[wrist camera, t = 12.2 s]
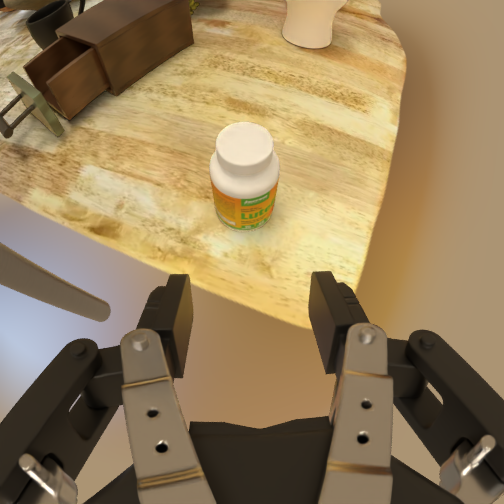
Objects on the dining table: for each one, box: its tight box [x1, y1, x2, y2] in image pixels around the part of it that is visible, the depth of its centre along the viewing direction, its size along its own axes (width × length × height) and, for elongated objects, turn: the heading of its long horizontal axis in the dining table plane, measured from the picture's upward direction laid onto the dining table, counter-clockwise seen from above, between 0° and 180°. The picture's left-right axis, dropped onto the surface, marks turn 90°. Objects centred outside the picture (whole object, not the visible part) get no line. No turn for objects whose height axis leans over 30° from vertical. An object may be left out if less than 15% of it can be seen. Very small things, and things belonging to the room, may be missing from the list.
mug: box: [26, 0, 85, 50], centre depth 37 cm, size 8×12×10 cm
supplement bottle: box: [209, 122, 280, 232], centre depth 25 cm, size 5×5×10 cm
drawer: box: [0, 36, 110, 138], centre depth 31 cm, size 19×11×7 cm, turn 142°
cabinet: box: [55, 0, 194, 96], centre depth 34 cm, size 15×13×9 cm
